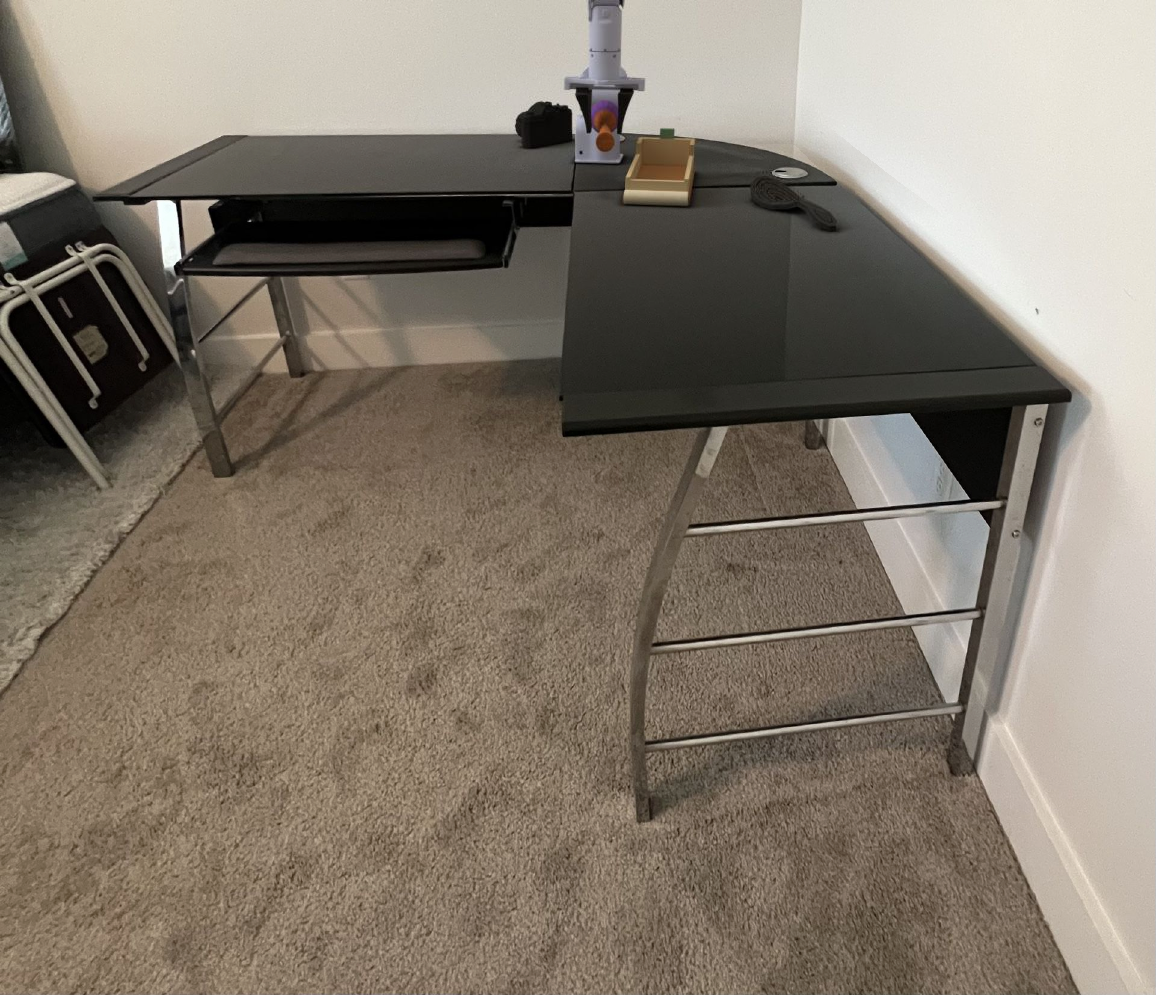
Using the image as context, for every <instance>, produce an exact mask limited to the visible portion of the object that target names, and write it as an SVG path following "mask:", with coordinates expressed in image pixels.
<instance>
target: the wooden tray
mask: <svg viewBox="0 0 1156 995" xmlns="http://www.w3.org/2000/svg"><path fill="white" fill-rule="evenodd" d="M675 131H676V130H675V128H673V127H672V128H671V127H670V128H669V127H660V128H659V137H647V136H646V137H642V136H641V137H638V139H637V141H636V144H635V145H636V146H635V147H636V148H635V156H634V158H633V160H632V162H631V164H630V166H629V169H628V171H627V174H626V176H625V182H624V183H625V185H624V188H625V189H624V192H623V194H622V204H623V205H637V206H639V205H640V206H644V205H645V206H664V207H666V206H667V207H668V206H669V207H689V206H690V204H691V203H690V202H691V197H692V190H693V184H694V179H695V173H696V164H694V162H695V145H696V138H684V137H683V138H679V137H678V138H677V137H675Z"/></svg>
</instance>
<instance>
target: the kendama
mask: <svg viewBox="0 0 1156 995" xmlns="http://www.w3.org/2000/svg"><path fill="white" fill-rule="evenodd" d="M591 117H592V128H593V129H594V130H595V131H596V132H598V133H599V134H598V136H597V139H596V146H597V148H598V149H599V150H600V151H602V152H608V151H610V150H611V149H612V148H613V147H614V138H613V136H612V132H614V131H615V129H616V128H617V123H618V107H617V106H616V105H615V104H614V103H613V102H611V101H609V100H601V101H599V102H597V103H596V104H595V105H594V106H593V107H592V109H591Z"/></svg>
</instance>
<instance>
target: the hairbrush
mask: <svg viewBox="0 0 1156 995" xmlns="http://www.w3.org/2000/svg"><path fill="white" fill-rule="evenodd" d="M762 174H764V171H762ZM765 174H768V172H767V171H766V172H765ZM755 175H756V177H755V176H753V177H752V181H751V182H750V187H749V191H750V198H751V200H753V201H754V202H755V203H756V204H757V205H758V206H759V207H760V208H764V209H769V210H790V209H801V210H803V211H805V212H806V213H807V214H808V216H809V217H810V219H811V220H812V221H813V222H814V223H815V224H816V225H817V226H818V227H819V228H821V229H823V230H826V231H827V232H834V231H836V228H837V222H838V220H837V218H836V217H835V216H834V215H833V213H832V212H830V211H829V210H827V209H825V208H824V207H822V206H821V205H819V204H816V203H814V202H812V201H810V200H807V199H806V200H805V199H804V198H805V195H803V193H801V192H800V191H799V190H796V191H795V187H792V185H791V184H789V186H788V185H786V184H785V183H786V182H785V181H782V178H780V176H779V175H777V177H776V174H774V175H773V173H772V171H770V175H771V177H770V176H769V175H761V176H760V175H759V172H757V173H755ZM758 175H759V176H758ZM774 177H776V178H774ZM778 178H780V179H778ZM796 192H797V193H796ZM799 194H800V195H801V196H800V195H799Z"/></svg>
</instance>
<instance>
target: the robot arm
mask: <svg viewBox="0 0 1156 995" xmlns="http://www.w3.org/2000/svg"><path fill="white" fill-rule="evenodd" d="M625 2H626V0H586V6H587V15H588V17H587V18H588V22H589V24H588V65H587V66H586V67H585V68H583V69H582V70H581V73H580V76H565V77H564V78H563V90H564V91H566V90H567V91H571V90H575V93H574V96H575V99H576V102H577V103H578V106H579V110H580V112H581V114H577V115H576V117H575V118H576V119H575V126H574V130H575V131H574V146H575V147H574V151H575V152H574V153H575V154H574V155H575V156H574V157H575V159H574V163H577V164H578V163H579V164H580V163H581V164H614V165H615V164H617V165H618V164H619V165H620V163H621V162H622V159H623V158H624V153H621V134H622V133H623V128H624V121H625V118H626V114H627V112H628V108H629V106H630V103H631V100H632V98H633V96H634V93H635V91H638V92H645V90H646V78H645V77H633V76H632V77H631V76H628V73H627V71H626V70H625V69H624V68H623V67H622V31H623V30H622V26H623V10H624V7H625ZM620 7H621V8H620ZM601 100H609V101H611V102H613V103H614V104H615V105H616V106H617V107H618V123H617V128H616V129H615V131H614V132H612V136H613V138H614V147H613V148H612V149H611V150H610V151H608V152H602V151H600V150H599V149H598V148H597V146H596V139H597V136H598V134H599V133H598V132H596V131H595V130H594V129H593V128H592V117H591V109H592V107H593V106H594V105H595V104H596V103H597V102H599V101H601Z"/></svg>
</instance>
